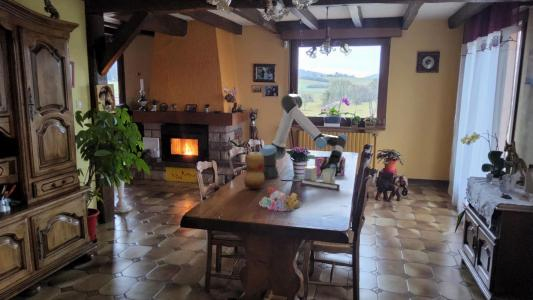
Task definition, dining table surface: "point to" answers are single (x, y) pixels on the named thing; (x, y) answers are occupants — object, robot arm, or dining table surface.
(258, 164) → the butternut squash
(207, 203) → the dining table surface
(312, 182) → the price rail
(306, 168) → the oat carton
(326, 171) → the tea carton
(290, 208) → the pastel sphere sculpture
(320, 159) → the gum box
